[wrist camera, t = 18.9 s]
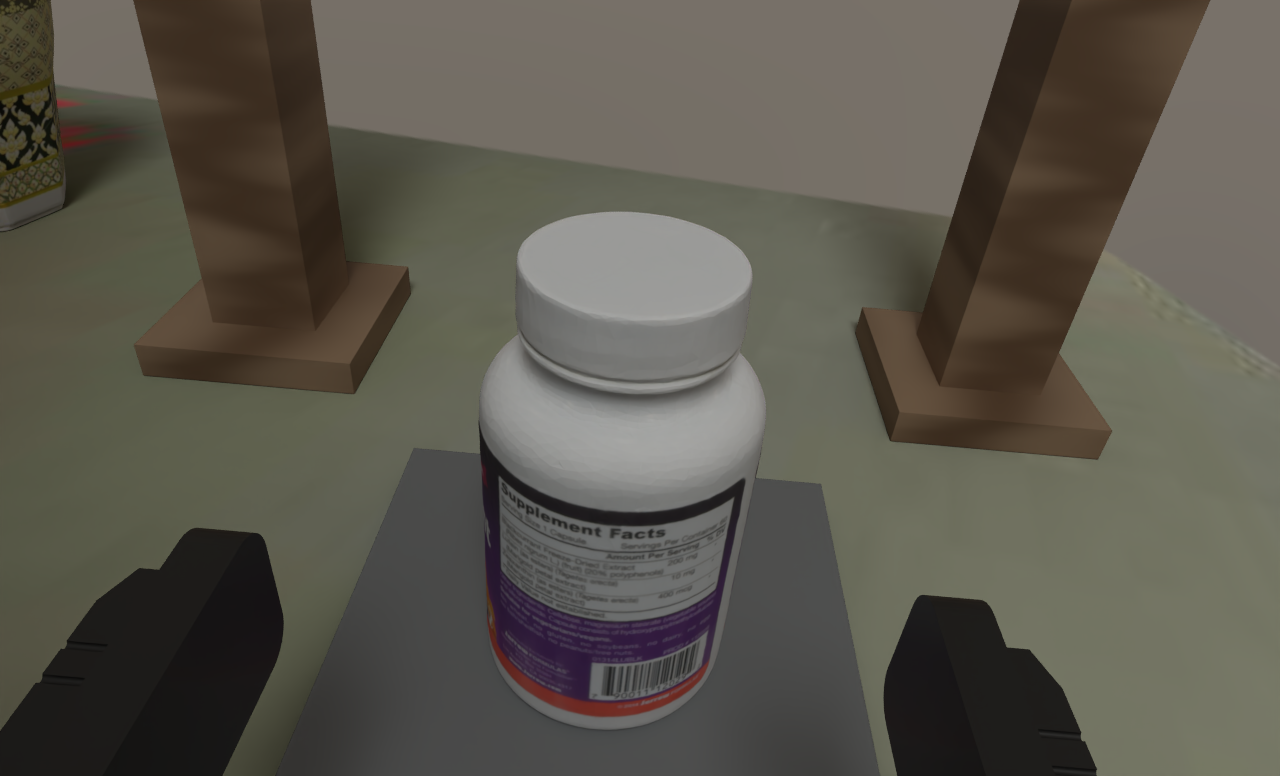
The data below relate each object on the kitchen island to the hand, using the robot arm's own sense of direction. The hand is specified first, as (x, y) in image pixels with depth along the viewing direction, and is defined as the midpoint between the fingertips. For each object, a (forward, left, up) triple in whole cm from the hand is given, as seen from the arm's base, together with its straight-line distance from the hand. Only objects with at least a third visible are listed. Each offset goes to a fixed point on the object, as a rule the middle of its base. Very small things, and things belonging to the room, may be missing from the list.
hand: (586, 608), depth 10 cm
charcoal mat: (-3, +5, -9) cm, 10 cm away
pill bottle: (-3, +5, -8) cm, 10 cm away
